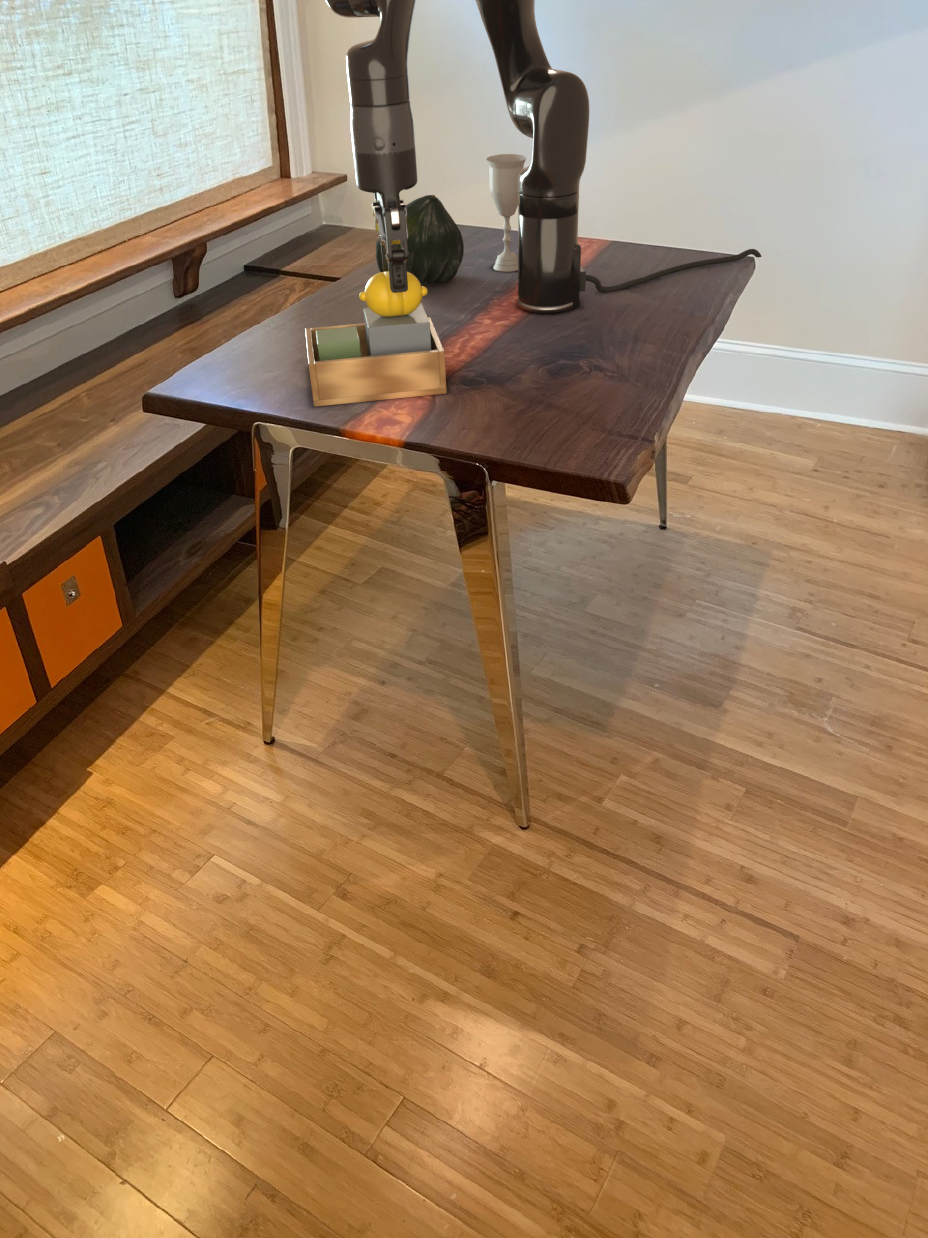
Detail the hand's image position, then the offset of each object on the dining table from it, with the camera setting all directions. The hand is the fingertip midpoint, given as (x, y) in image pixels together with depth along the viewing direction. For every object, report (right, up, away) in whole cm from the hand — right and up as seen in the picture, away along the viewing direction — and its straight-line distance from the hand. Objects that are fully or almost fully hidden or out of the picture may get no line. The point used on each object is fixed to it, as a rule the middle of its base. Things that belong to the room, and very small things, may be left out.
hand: (395, 281), depth 123 cm
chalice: (+17, +19, +48) cm, 54 cm away
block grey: (0, -11, +8) cm, 13 cm away
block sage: (-8, -12, +7) cm, 16 cm away
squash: (+2, +15, +43) cm, 46 cm away
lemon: (0, -3, +3) cm, 4 cm away
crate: (-3, -11, +8) cm, 14 cm away
